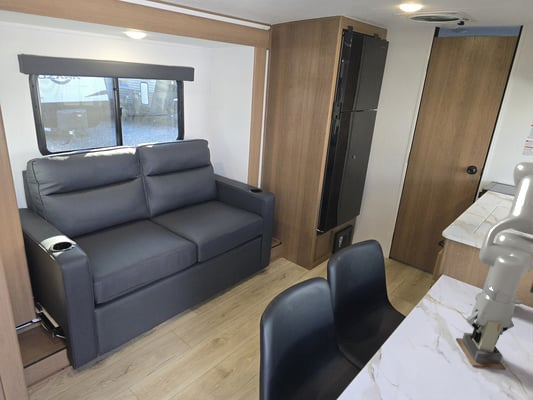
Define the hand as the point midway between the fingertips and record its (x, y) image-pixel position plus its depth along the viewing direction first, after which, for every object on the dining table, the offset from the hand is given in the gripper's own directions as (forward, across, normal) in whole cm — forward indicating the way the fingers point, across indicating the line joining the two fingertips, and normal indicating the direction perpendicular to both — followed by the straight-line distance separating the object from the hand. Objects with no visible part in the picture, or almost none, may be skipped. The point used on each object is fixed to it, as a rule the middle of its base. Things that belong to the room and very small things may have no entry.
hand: (483, 340), depth 115 cm
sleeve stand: (+5, 0, 0) cm, 5 cm away
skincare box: (+3, 0, 0) cm, 3 cm away
